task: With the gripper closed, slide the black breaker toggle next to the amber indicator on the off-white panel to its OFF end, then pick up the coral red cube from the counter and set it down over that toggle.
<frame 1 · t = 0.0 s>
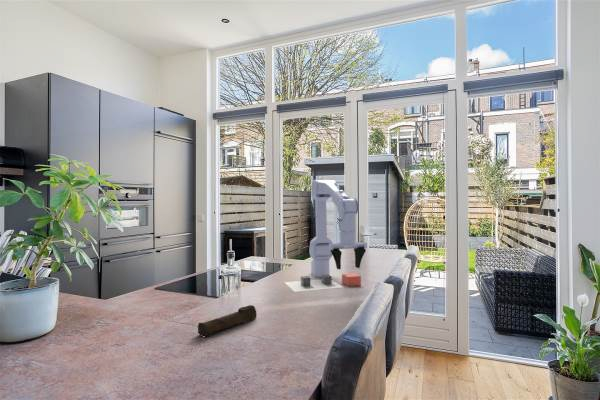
hand: (348, 268, 127), 10 cm above the counter, fingers open, 7 cm apart
breaker toggle: (305, 280, 137), point 3 cm above the counter, slide at 0.0 cm
hand tool: (229, 328, 98), on the counter
coral red cube: (351, 287, 139), on the counter
breaker panel: (313, 288, 138), on the counter
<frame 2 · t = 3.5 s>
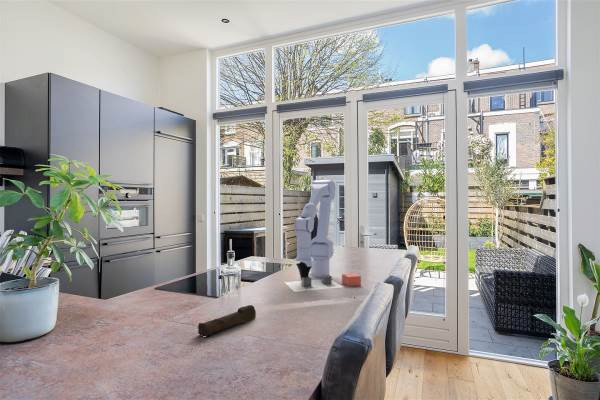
hand: (304, 281, 139), 3 cm above the counter, fingers closed
breaker toggle: (306, 281, 136), point 3 cm above the counter, slide at 1.0 cm, touching gripper
everything else where it was.
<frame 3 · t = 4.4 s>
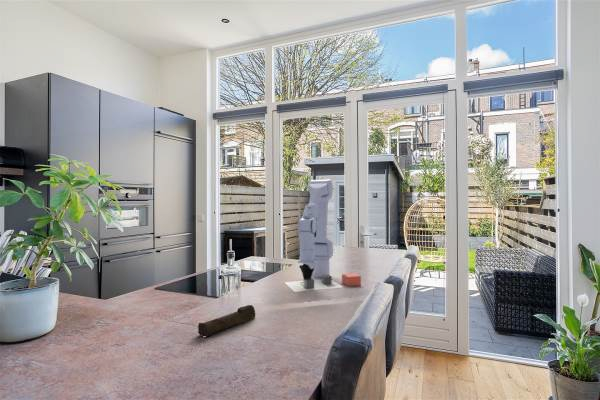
hand: (307, 283, 135), 3 cm above the counter, fingers closed
breaker toggle: (309, 283, 133), point 3 cm above the counter, slide at 4.4 cm, touching gripper
everything else where it was.
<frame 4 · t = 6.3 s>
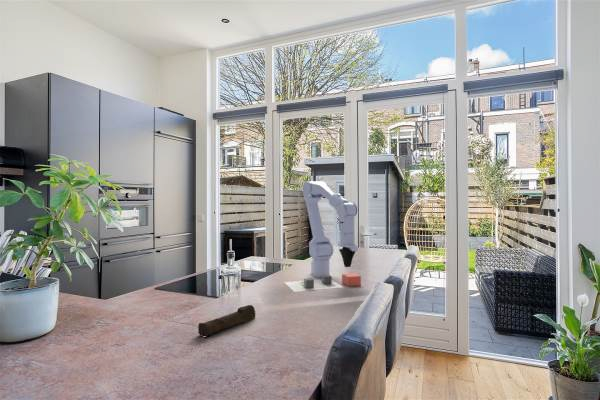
hand: (347, 266, 138), 8 cm above the counter, fingers closed
breaker toggle: (308, 283, 133), point 3 cm above the counter, slide at 4.1 cm
everything else where it was.
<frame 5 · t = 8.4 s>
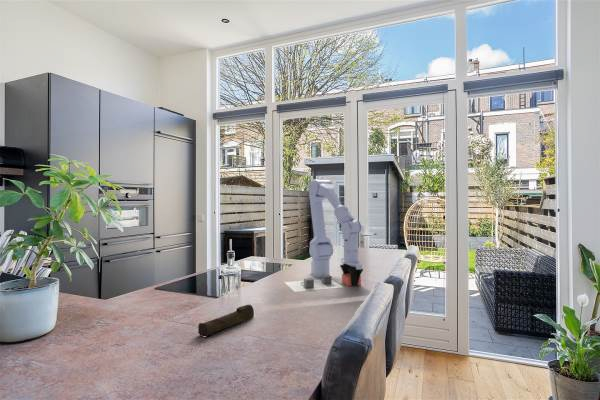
hand: (351, 283, 139), 1 cm above the counter, fingers closed on coral red cube, 6 cm apart
coral red cube: (351, 287, 139), on the counter, touching gripper
everything else where it was.
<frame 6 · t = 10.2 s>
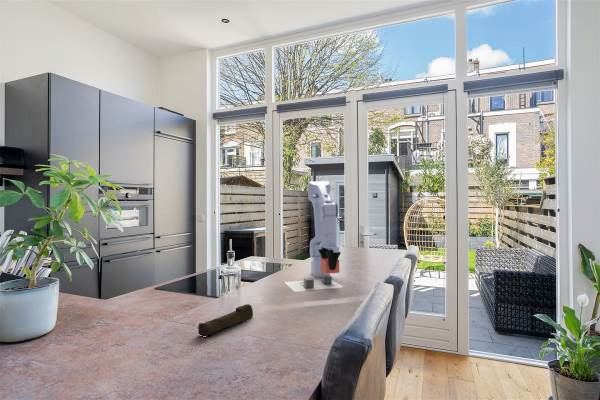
hand: (329, 268, 136), 8 cm above the counter, fingers closed on coral red cube, 6 cm apart
coral red cube: (329, 271, 136), point 7 cm above the counter, touching gripper
everything else where it was.
when the fingers open (5 cm above the counter, at t = 12.1 s): coral red cube drops 2 cm, resting on breaker panel.
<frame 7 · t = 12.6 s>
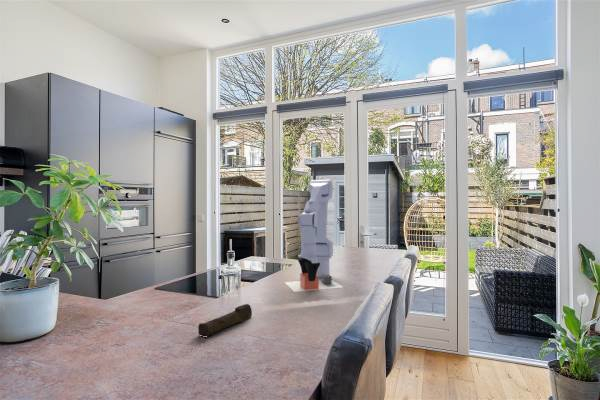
hand: (308, 278, 134), 5 cm above the counter, fingers open, 7 cm apart
coral red cube: (309, 287, 134), point 2 cm above the counter, touching breaker panel
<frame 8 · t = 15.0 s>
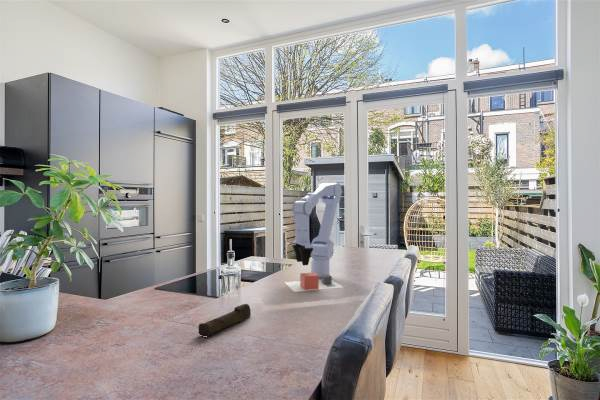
hand: (302, 263, 141), 9 cm above the counter, fingers open, 7 cm apart
at the end: breaker toggle slide at 4.1 cm; coral red cube 0.3 cm from the target spot, point 1.5 cm above the counter; coral red cube tilted 0° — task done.
